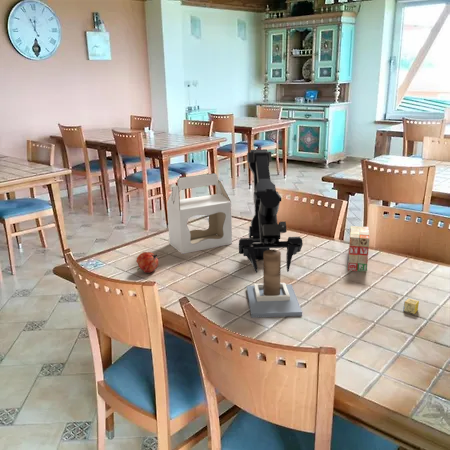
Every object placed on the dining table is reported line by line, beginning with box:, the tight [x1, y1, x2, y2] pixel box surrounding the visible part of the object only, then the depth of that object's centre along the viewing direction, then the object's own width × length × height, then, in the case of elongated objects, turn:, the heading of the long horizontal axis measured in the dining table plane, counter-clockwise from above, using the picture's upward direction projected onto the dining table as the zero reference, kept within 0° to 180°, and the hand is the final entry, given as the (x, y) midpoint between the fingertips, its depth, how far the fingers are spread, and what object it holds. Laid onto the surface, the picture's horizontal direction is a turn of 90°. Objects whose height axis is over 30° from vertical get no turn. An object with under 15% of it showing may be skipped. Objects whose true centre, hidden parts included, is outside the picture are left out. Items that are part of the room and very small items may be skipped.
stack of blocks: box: [347, 225, 371, 272], centre depth 163 cm, size 21×6×12 cm, turn 165°
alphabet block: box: [403, 298, 420, 315], centre depth 128 cm, size 3×3×3 cm
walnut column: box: [262, 249, 282, 296], centre depth 136 cm, size 5×5×13 cm
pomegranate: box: [136, 251, 160, 274], centre depth 158 cm, size 7×7×10 cm
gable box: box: [166, 172, 233, 255], centre depth 180 cm, size 22×13×28 cm, turn 118°
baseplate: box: [246, 282, 303, 318], centre depth 135 cm, size 18×14×2 cm
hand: (272, 271), depth 134 cm, fingers open, 9 cm apart
